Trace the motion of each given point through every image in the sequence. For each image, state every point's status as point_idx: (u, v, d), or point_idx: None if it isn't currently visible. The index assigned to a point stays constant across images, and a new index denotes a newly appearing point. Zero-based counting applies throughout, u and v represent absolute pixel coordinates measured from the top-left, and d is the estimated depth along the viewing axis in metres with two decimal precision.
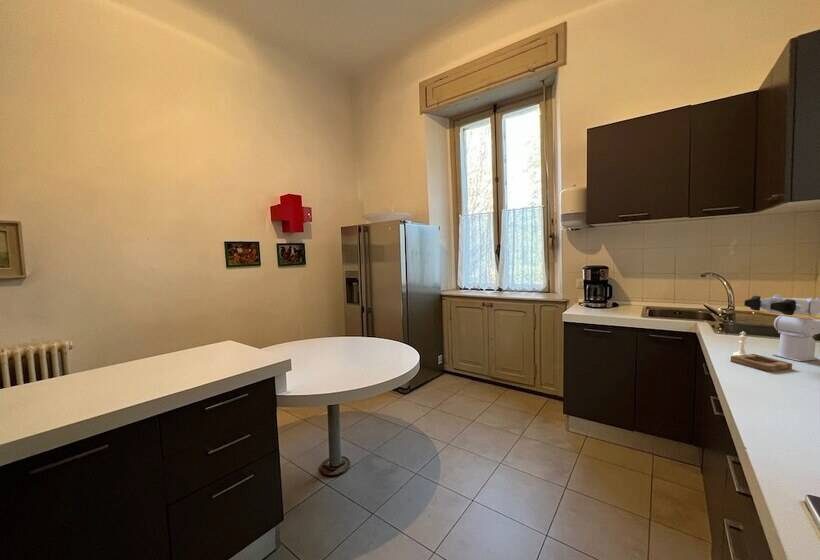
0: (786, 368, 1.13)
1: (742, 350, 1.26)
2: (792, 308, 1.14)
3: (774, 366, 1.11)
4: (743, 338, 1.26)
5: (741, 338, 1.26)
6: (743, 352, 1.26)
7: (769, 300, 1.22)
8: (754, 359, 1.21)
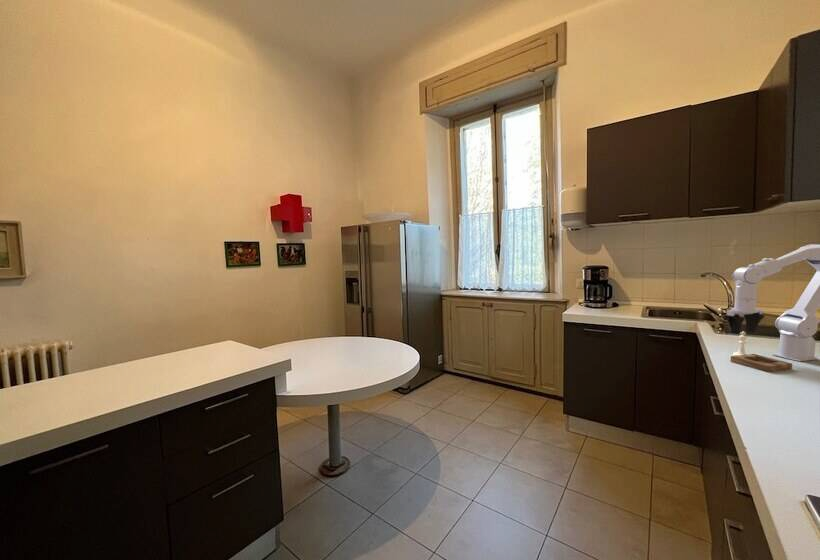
0: (786, 368, 1.13)
1: (742, 350, 1.26)
2: (733, 317, 1.24)
3: (774, 366, 1.11)
4: (743, 338, 1.26)
5: (741, 338, 1.26)
6: (743, 352, 1.26)
7: None
8: (754, 359, 1.21)
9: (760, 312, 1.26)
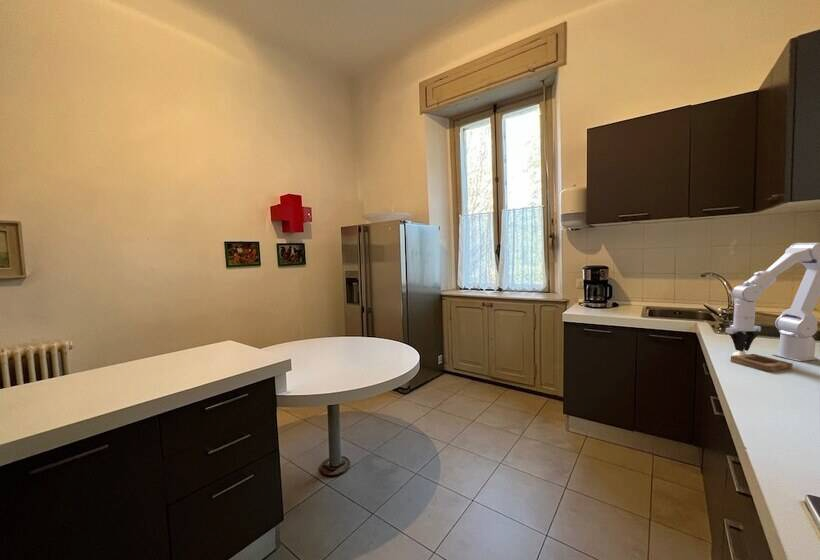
0: (786, 368, 1.13)
1: None
2: (737, 335, 1.25)
3: (774, 366, 1.11)
4: None
5: None
6: (743, 352, 1.26)
7: None
8: (754, 359, 1.21)
9: (759, 330, 1.26)
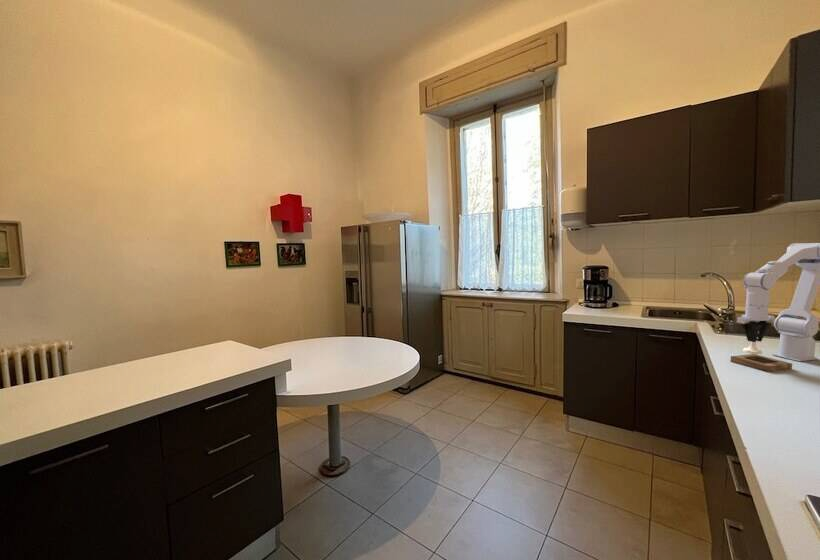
0: (786, 368, 1.13)
1: (753, 346, 1.20)
2: (749, 324, 1.19)
3: (774, 366, 1.11)
4: None
5: None
6: (754, 348, 1.20)
7: None
8: (754, 359, 1.21)
9: (772, 319, 1.20)
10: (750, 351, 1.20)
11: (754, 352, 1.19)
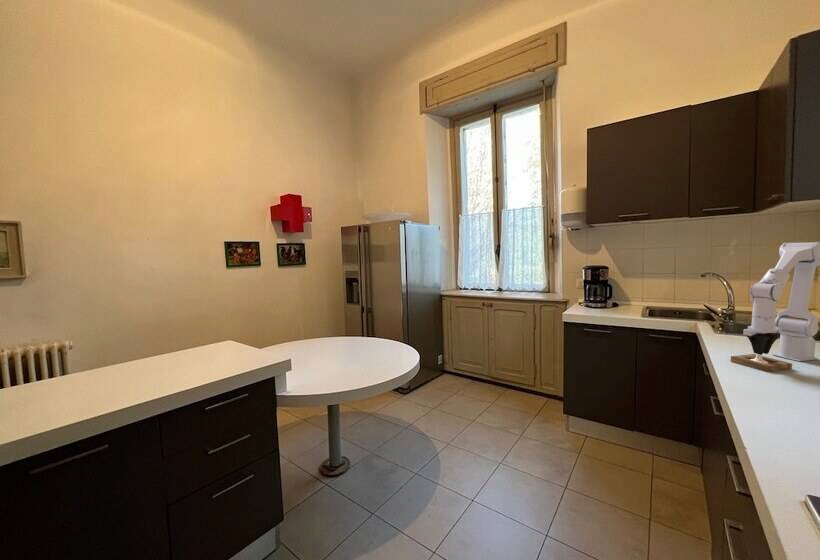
0: (786, 368, 1.13)
1: (759, 357, 1.17)
2: (755, 336, 1.16)
3: (774, 366, 1.11)
4: None
5: None
6: (760, 359, 1.17)
7: None
8: None
9: (779, 331, 1.17)
10: None
11: None
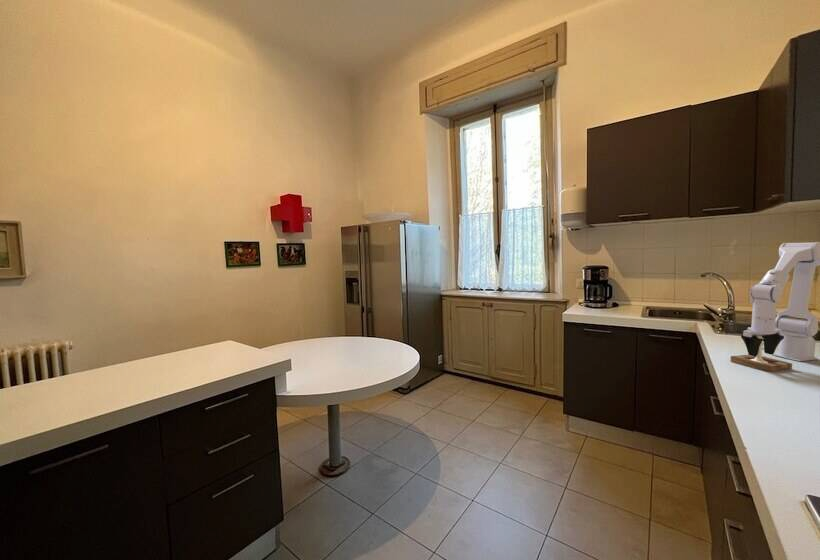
0: (786, 368, 1.13)
1: (759, 357, 1.17)
2: (750, 338, 1.15)
3: (774, 366, 1.11)
4: (761, 344, 1.16)
5: None
6: (760, 359, 1.17)
7: None
8: None
9: (779, 332, 1.17)
10: None
11: None
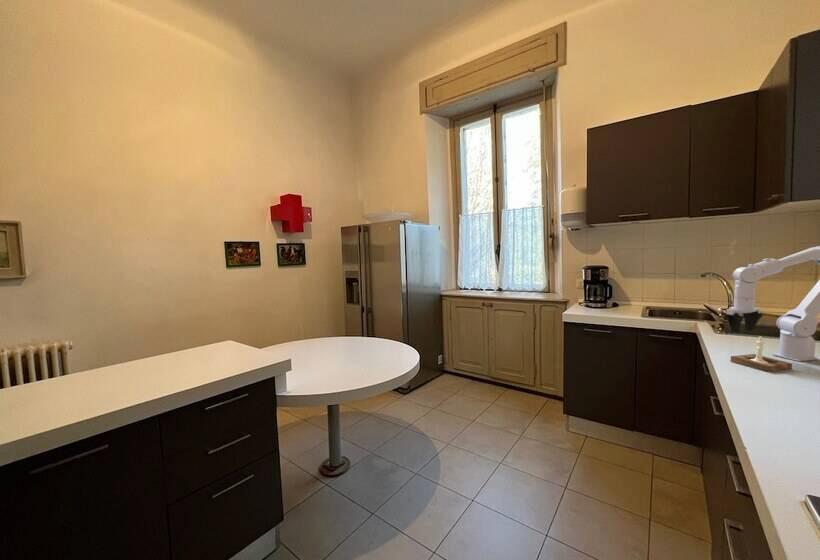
0: (786, 368, 1.13)
1: (759, 357, 1.17)
2: (732, 316, 1.27)
3: (774, 366, 1.11)
4: (761, 344, 1.16)
5: (758, 344, 1.17)
6: (760, 359, 1.17)
7: None
8: None
9: (759, 311, 1.28)
10: None
11: None
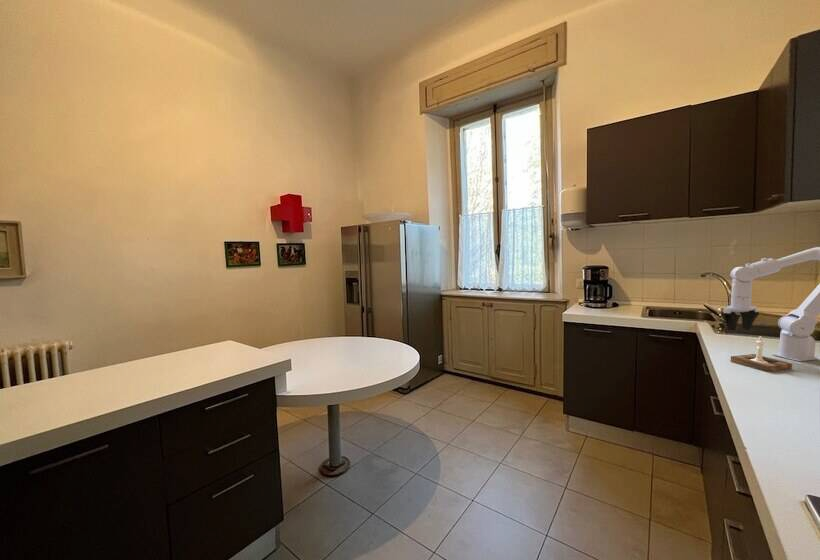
0: (786, 368, 1.13)
1: (759, 357, 1.17)
2: (729, 315, 1.29)
3: (774, 366, 1.11)
4: (761, 344, 1.16)
5: (758, 344, 1.17)
6: (760, 359, 1.17)
7: None
8: None
9: (755, 310, 1.30)
10: None
11: None
